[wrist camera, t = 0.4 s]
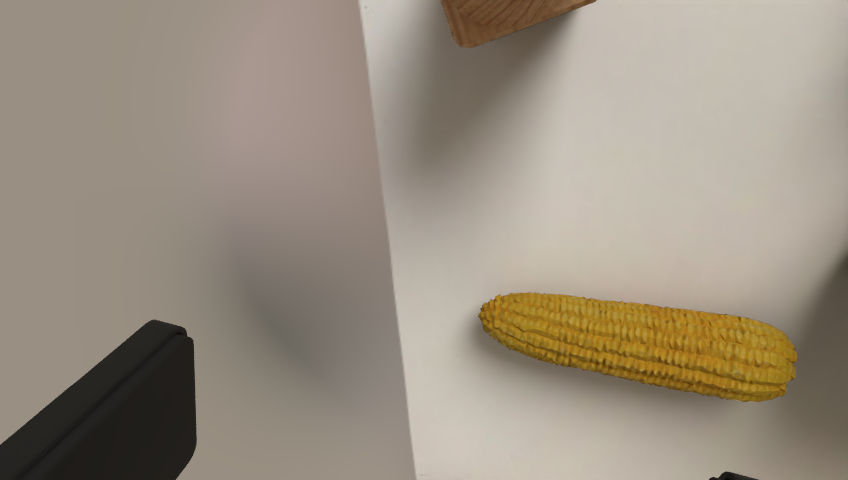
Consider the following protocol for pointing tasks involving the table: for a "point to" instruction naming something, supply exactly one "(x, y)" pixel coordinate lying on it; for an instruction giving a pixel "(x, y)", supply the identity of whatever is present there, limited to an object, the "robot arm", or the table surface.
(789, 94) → the table surface
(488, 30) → the decorative item
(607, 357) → the food
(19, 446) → the robot arm
